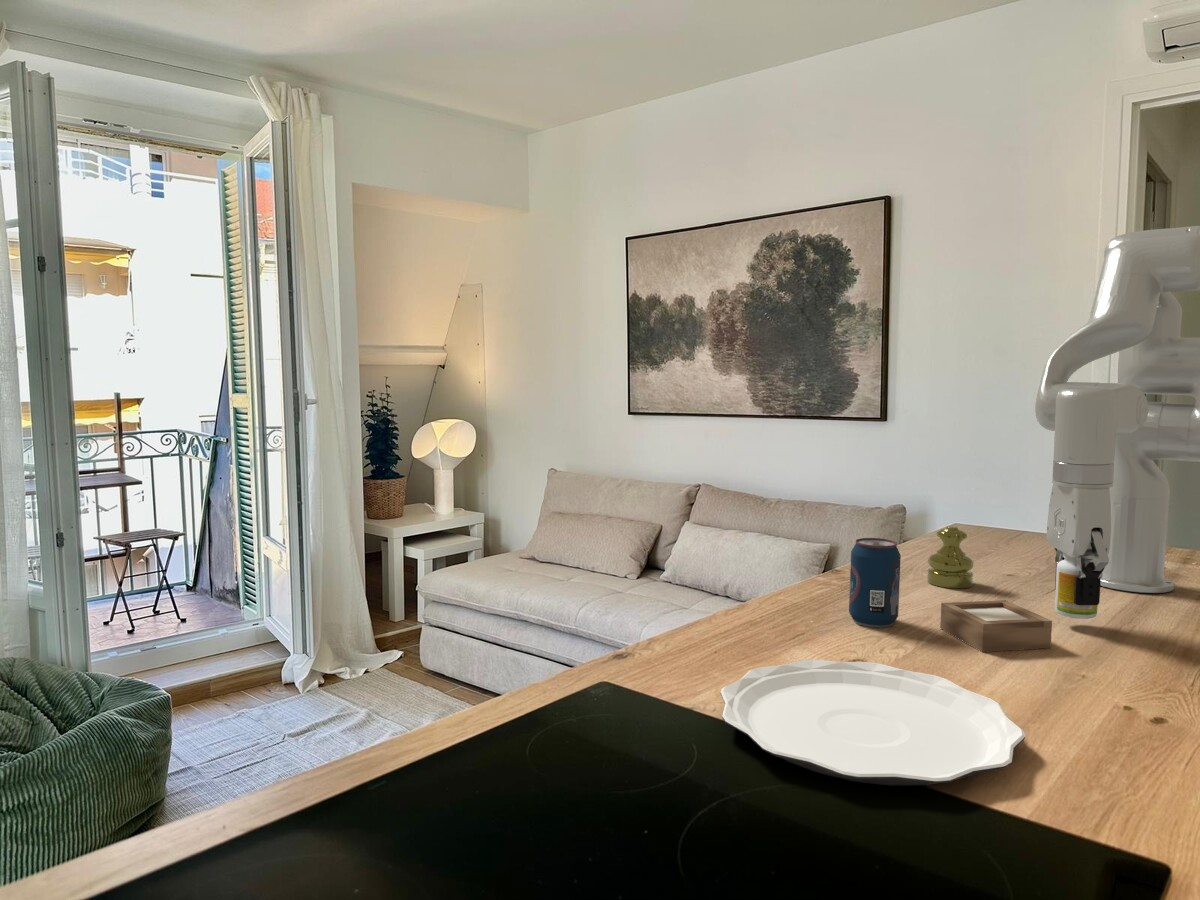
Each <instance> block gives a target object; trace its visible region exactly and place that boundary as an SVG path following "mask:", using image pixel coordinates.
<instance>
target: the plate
mask: <svg viewBox="0 0 1200 900" xmlns="http://www.w3.org/2000/svg"><path fill="white" fill-rule="evenodd" d="M720 696H721V698H722V700H723V702H724V707H723V712H722V715H721V717H722V720H723V721H724V723H725V724H726V725H728V726H730V727H731V728H734V729H736V730H737V731H739V732H741V733H742V734H745V735H746V736H747V737H749V738H750V739H751V741H753V742H754V743H755V745H757V746H758V747H759V748H760V749H761V750H762V751H764V752H766V753H768V754H770V755H773V756H774V757H777V758H780V759H783V760H785V761H786V762H788V763H790V764H792V765H796V766H798V767H801V768H804V769H806V770H809V771H811V772H813V773H818V774H821V775H825V776H829V777H833V778H838V779H842V780H847V781H849V782H855V783H865V784H873V785H882V786H898V787H899V786H902V787H903V786H929V785H934V784H936V785H937V784H945V783H946V784H947V783H951V782H953V781H956V780H959V779H963V778H968V777H972V776H976V775H980V774H984V773H985V774H986V773H988V772H995V771H997V770H1002V769H1005V768H1007V767H1009V766H1010V765H1012V761H1013V755H1014V750H1015V748H1016V747H1018V746H1019V744H1021V743H1022V742H1023V741H1025V739H1026V734H1025V731H1024V730H1023V729H1022V728H1021V727H1020V726H1018V725H1017V724H1016V723H1015V722H1013V720H1011V719H1010V718H1008V716H1007V714H1006V713H1005V711H1004V709H1003V707H1002V706H1001V704H1000V703H998V702H996V701H995V700H993V699H992V698H990V697H988V696H984V695H982V694H979V693H976V692H973V691H971V690H969V689H966V688H963V687H962V686H960V685H958V684H957V683H954V682H952V681H951V680H949V679H947V678H945V677H941V676H938V675H935V674H930V673H925V672H919V671H917V672H916V671H912V670H906V669H901V668H897V667H895V666H890V665H887V664H884V663H883V664H882V663H879V662H872V661H871V662H870V661H833V660H823V659H822V660H821V659H802V660H798V661H793V662H790V663H789V662H788V663H785V664H781V665H770V666H759V667H756V668H753V669H750V670H748V671H747V673H745V674H744V675H743V676H742V677H741V678H740V679H738V680H736V681H734V682H732V683H730V684H727V685H725V686H724V687H723V686H722V688H721V690H720Z"/></svg>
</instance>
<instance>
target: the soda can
mask: <svg viewBox="0 0 1200 900" xmlns="http://www.w3.org/2000/svg"><path fill="white" fill-rule="evenodd" d="M901 558H902V557H901V553H900V551H899V548H898V545H897V542H896V541H894V540H891V539H886V538H880V537H877V538H876V537H863V538H861V537H860V538H858V539H857V538H856V539H855V544H854V546H853V547H852V549H851V551H850V571H849V572H850V574H849V597H848V599H849V601H848V613H849V614H850V617H851V618H852V620H853V622H854V623H856V624H858V625H860V626H865V627H868V626H871V627H870V628H888V626H889V627H891V626H893V625H894V623H895V622H896V620H897V619H898V618H899V611H900V609H899V606H900V605H899V604H900V586H901V585H900V581H901V579H900V578H901ZM892 624H893V625H892Z"/></svg>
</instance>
